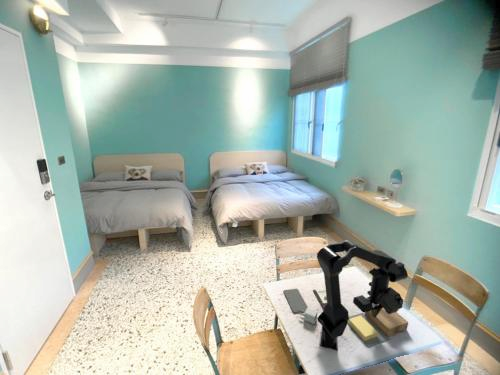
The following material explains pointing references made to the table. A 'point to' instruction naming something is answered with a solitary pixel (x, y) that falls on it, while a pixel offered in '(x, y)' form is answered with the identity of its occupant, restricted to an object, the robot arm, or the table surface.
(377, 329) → the mat
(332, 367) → the table surface
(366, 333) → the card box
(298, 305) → the smartphone
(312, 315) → the usb wall charger
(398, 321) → the block
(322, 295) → the chocolate bar
